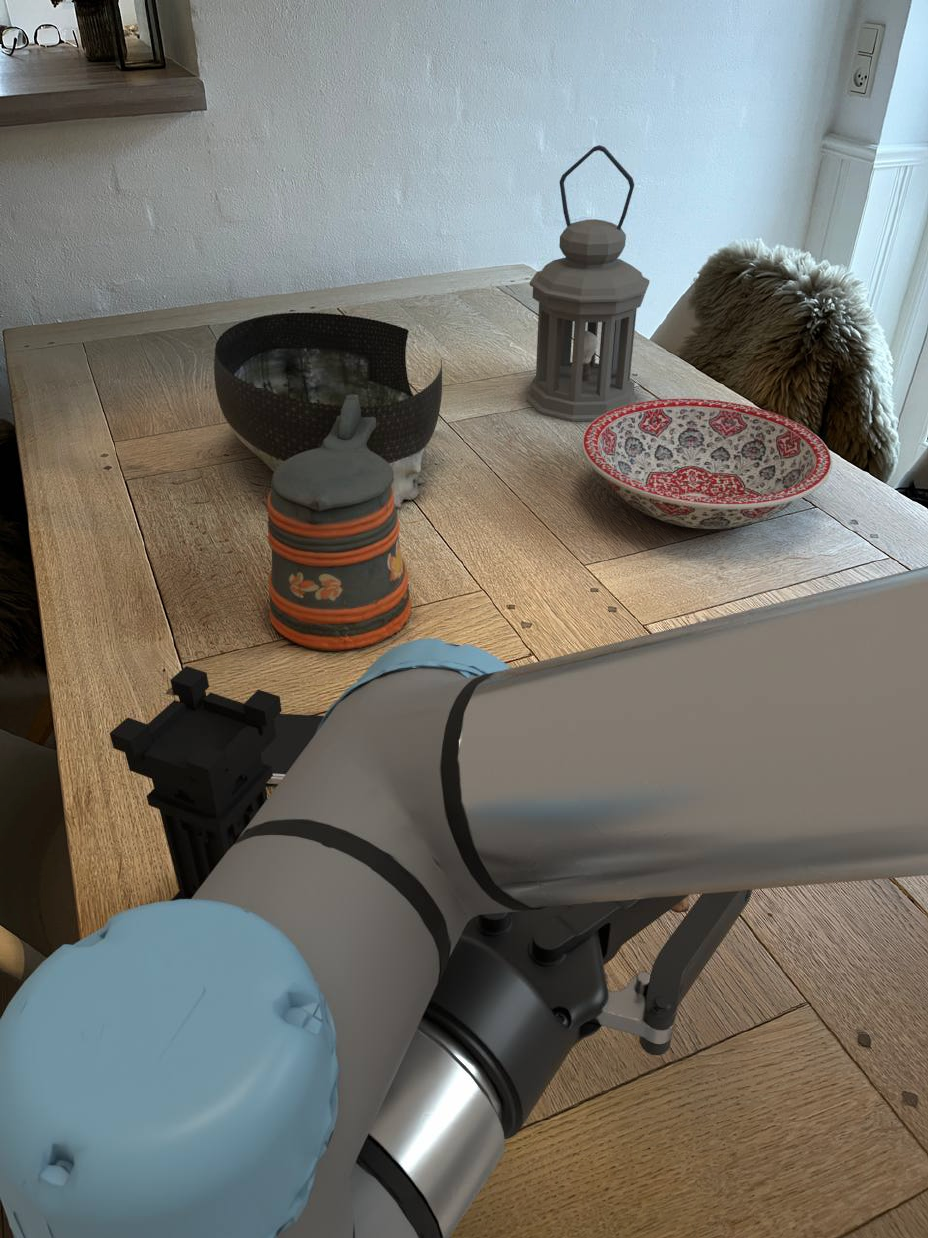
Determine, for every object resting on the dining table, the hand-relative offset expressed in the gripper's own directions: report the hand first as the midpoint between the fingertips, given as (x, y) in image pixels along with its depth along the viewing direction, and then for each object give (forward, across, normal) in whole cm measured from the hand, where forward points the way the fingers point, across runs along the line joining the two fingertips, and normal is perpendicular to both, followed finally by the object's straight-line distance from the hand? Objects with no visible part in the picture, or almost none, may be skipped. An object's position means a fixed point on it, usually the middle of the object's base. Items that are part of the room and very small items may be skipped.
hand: (685, 729), depth 52 cm
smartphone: (+7, -33, -25) cm, 42 cm away
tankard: (+27, -48, -25) cm, 60 cm away
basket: (+51, -70, -25) cm, 90 cm away
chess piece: (-10, -27, -25) cm, 38 cm away
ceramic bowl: (+67, -25, -25) cm, 76 cm away
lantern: (+88, -53, -25) cm, 106 cm away
